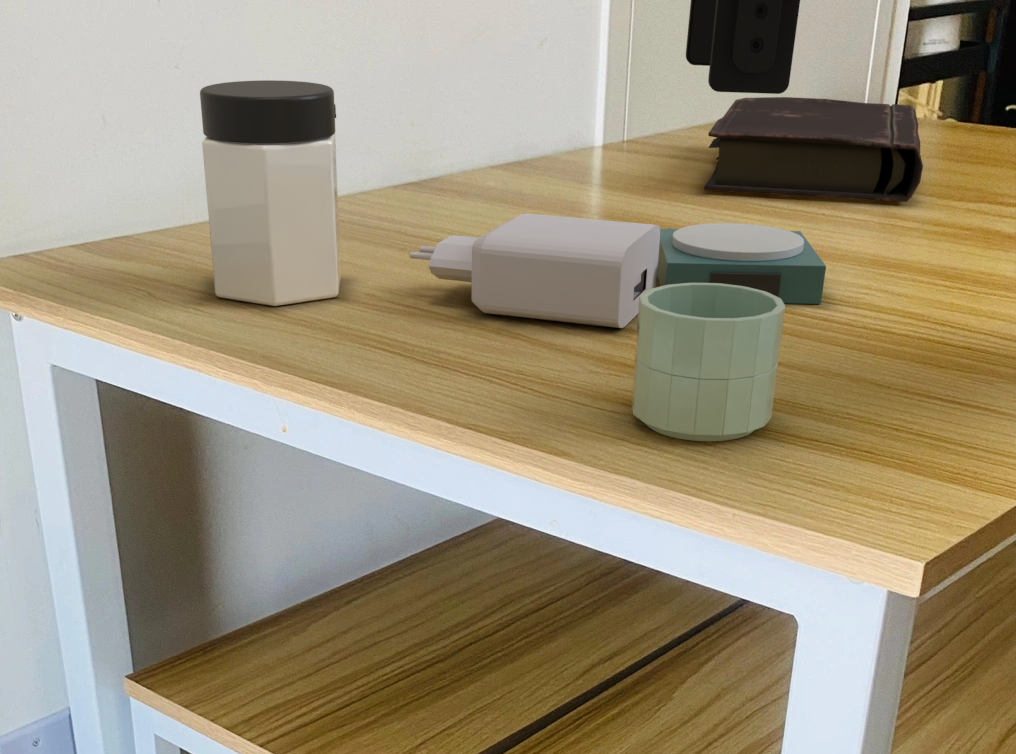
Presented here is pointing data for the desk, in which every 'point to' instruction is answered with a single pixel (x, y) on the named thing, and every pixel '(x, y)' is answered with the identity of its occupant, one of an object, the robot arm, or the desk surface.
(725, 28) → the robot arm
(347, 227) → the desk surface
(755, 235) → the scale
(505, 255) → the charger
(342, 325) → the desk surface
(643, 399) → the cup
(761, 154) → the diary
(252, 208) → the jar
